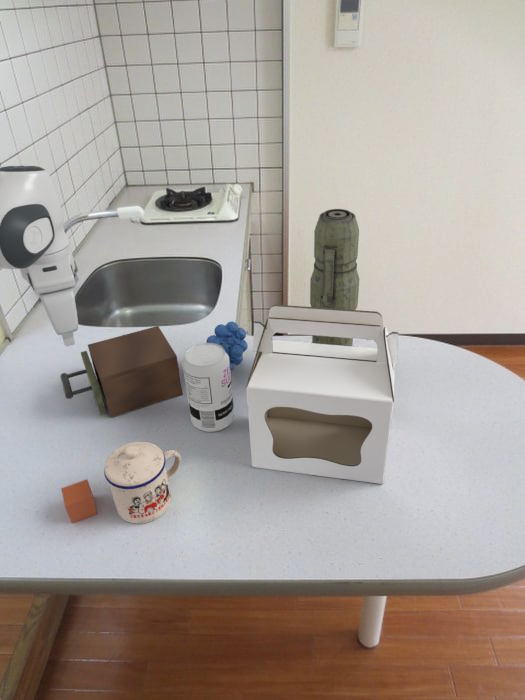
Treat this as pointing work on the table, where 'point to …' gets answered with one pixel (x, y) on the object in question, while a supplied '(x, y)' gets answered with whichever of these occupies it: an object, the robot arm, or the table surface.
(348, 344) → the thermos
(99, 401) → the drawer
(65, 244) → the robot arm
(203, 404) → the supplement can
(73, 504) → the block
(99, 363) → the cabinet
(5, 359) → the table surface
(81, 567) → the table surface
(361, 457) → the gable box
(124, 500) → the teacup with lid
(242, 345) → the grapes
